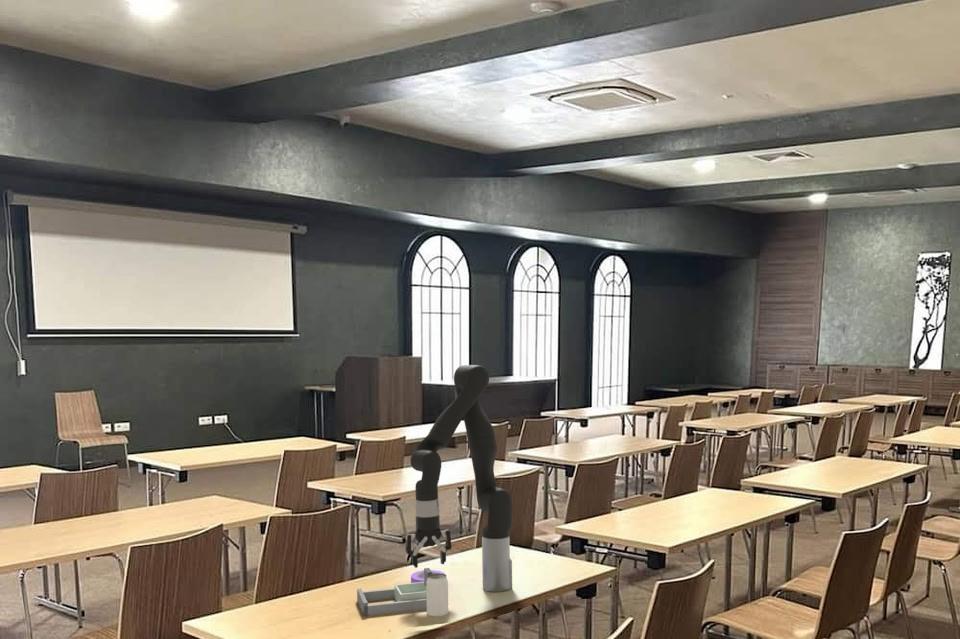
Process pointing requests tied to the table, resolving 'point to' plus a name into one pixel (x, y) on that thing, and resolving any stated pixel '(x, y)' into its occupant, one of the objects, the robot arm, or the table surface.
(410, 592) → the sliding tray
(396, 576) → the table surface
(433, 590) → the can
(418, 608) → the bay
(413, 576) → the masking tape
